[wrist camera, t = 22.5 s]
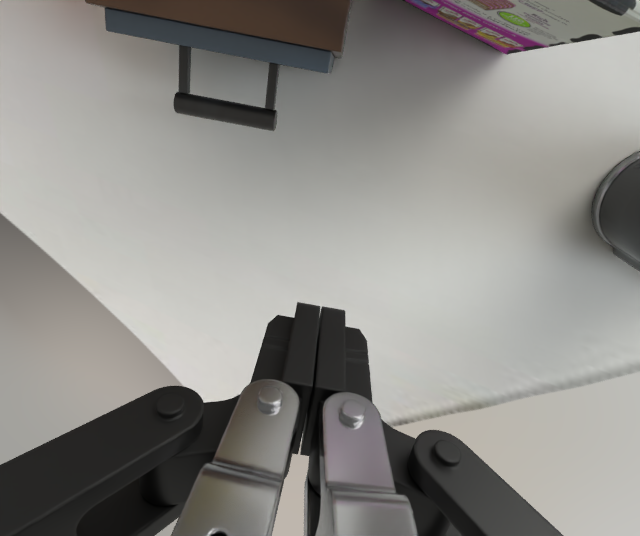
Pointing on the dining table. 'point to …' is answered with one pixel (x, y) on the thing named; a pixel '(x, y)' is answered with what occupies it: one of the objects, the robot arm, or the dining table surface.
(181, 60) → the drawer
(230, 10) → the cabinet
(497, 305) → the dining table surface
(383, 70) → the dining table surface
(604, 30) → the candy bar box
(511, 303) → the dining table surface
